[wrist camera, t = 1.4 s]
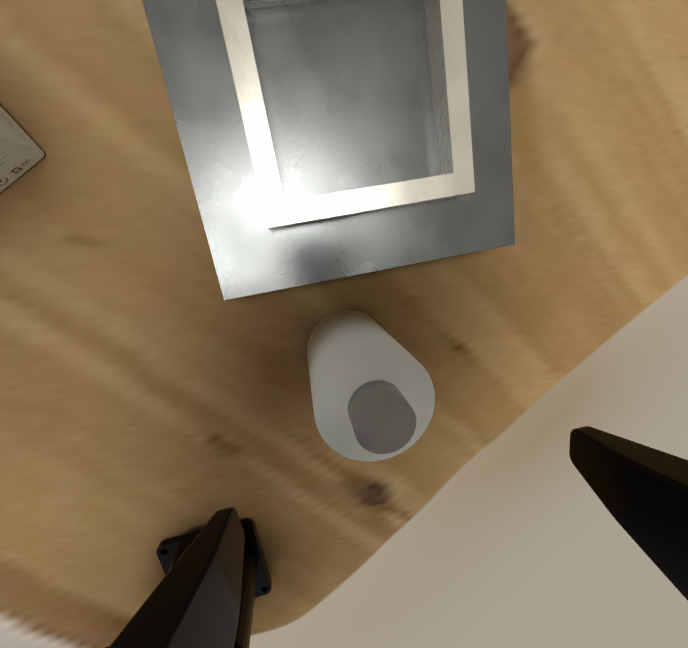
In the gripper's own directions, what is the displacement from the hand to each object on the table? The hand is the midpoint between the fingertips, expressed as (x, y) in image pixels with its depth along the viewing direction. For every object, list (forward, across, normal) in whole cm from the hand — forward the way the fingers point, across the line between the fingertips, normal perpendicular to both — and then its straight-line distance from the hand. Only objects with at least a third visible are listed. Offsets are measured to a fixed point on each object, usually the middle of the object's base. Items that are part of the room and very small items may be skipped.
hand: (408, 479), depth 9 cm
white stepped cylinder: (+13, 0, +2) cm, 13 cm away
